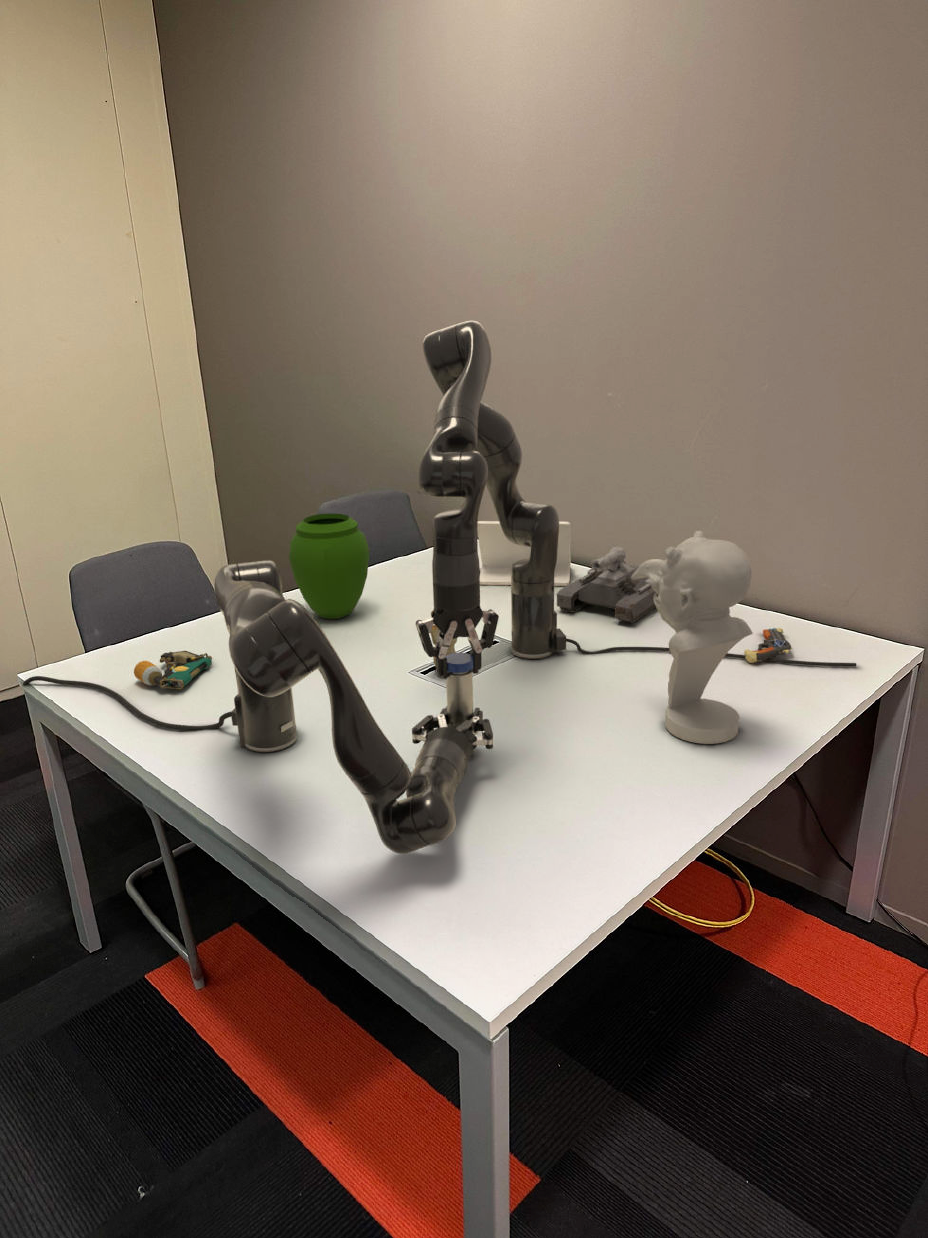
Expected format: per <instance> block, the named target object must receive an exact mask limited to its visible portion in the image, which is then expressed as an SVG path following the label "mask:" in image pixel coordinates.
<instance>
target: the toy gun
mask: <svg viewBox="0 0 928 1238" xmlns="http://www.w3.org/2000/svg"><path fill="white" fill-rule="evenodd" d="M762 634H763V642H761V643H759V644H758V648H757V650H750V649H745V650H744V651H743V655H745V656H746V659H745V660H746V661H747V662H748V663H750V664H751V663H756V662H761V661H760V660H764V659H767V658H775V657H776V656H780V655H782V654H785V653H786V654H789V653H790V651H791V650H793V649H794V648H793V647H792V645H791V643H790V642H789V641H788V640H787V639H786V638H785V636H784V629H783V628H781V627H779V628H778V627H777V628H776V627H773V628H768V629H767V628H766V629H763V630H762Z"/></svg>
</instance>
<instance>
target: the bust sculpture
mask: <svg viewBox="0 0 928 1238" xmlns="http://www.w3.org/2000/svg"><path fill="white" fill-rule="evenodd" d="M664 554H665V559H660V558H653V559H648V560H645V561H644V562H642V563H641V564H640V565H639V566H638V567H639V568H638V569H637V570H636V571H635V573H634V574H633V575H632V576H631V578H632V579H634V580H635V579H640V578H644V577H647V578H649V579H650V583H651V587H652V589H653V590H654V591H655V592H656V593H655V594H654V597H653V600H654V604H655V605H656V607H655V608H656V611H657V612H658V614H659V615H660V618H661V619H662V620H663V622H665V623H666V624H667V625H668V626H669V627H670V628H671V629H672V630H673V631H675V634H673V635H672V636H671V638H669V641H668V648H669V649H670V651H669V653H670V654H671V657H672V658H673V660H672V663H671V666H670V669H669V673H668V682H667V694H668V696H667V697H668V700H667V705H668V706H666V708H665V718H664V726H665V728H666V730H667V731H668V732H669V733H670V734H671V735H673V736H675V737H676V738H679V739H680V740H683V741H687V742H691V743H696V744H703V745H713V744H721V743H726V742H729V741H731V740H733V739H734V738H736V736H738V733H739V729H740V728H739V727H740V715H739V714H740V713H738V711H737V710H736V709H735V708H734V707H732V706H730V705H728V704H727V703H724V702H721V701H719V700H714V699H709V698H702V696H703V695H704V694H703V693H704V692H705V690H706V687H707V685H708V684H709V681H710V680H711V678H712V676H713V674H714V673H715V671H716V670H717V668H718V667H719V665H720V664H721V662H722V661H723V660H724V658H725V655H726V654H727V653H729V652H730V651H731V650H732V649H733V648H734V647H735V646H736V645H738V643H739V642H741V641H742V640H743V639H745V638H747V637H749V636H751V635H753V634H754V632H753V630H752V629H751V628H750V626H749V624H748V623H747V622H746V621H745V620H744V619H743V618H740V617H737V616H731V614H730V613H731V610H730V608H732V607H734V606H736V605H737V604H739V603H740V602H741V601H742V600H744V599H745V597H746V595H747V594H748V592H749V590H750V586H751V583H752V574H753V573H752V572H753V571H752V565H751V561H750V559H749V557H748V555H747V554H746V552H745V551H744V550H743V549H742V548H741V547H740V546H739V545H737V544H736V543H734V542H731V541H728V540H723V539H711V538H707V536H706V534H705V532H703V530H696V531H694V533H693V536H691V537H689V538H687V539H684V541H682V542H681V543H679V544H678V545H677V546H675V547H674V546H669V547H667V548H666V551H665V553H664Z"/></svg>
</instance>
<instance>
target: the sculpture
mask: <svg viewBox="0 0 928 1238" xmlns="http://www.w3.org/2000/svg"><path fill="white" fill-rule="evenodd" d="M433 611H434V609H433V610H431V612H430V617H431V616H432V614H433ZM438 632H439V629H438V628H437V627H436V625H435V624H434V625H433V626H432V631H431V633H429V635H430V636H431V637H430V638H431V642H432V644H433V646H434V647H435V646H436V643H437V635H438ZM457 642H458V638H456V639H452V641H451V644H450V646H449V647H448V650H447V653H446V656H447V655H449V654H452V653H457V652H456V649H455V644H456V643H457ZM432 658H433V659H432V660H433V665H434V667H435V668H436V657H432Z"/></svg>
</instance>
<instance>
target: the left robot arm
mask: <svg viewBox="0 0 928 1238" xmlns="http://www.w3.org/2000/svg"><path fill="white" fill-rule="evenodd" d="M283 592H284V591H283V581H282V575H281V571H280V568H279V566H278V564H277V563H276V562H275V561H274V560H272V559H263V560H253V561H246V562H237V563H229V564H225V565H224V566H221V567H220V568H219V569H218V570H217V572H216V575H215V578H214V595H215V600H216V604H217V606H218V609H219V611H220V612H221V614H222V615H223V617H224V622H225V626H226V629H227V632H228V634H229V637H228V651H229V656H230V659H231V661H232V662H231V663H232V664H233V666H234V673H235V674H234V675H235V681H236V687H237V694H236V695H235V696H234V698H233V703H234V708H233V709H232V710H231V711H228V712H225V713H223V714H222V715H220V716H219V718H218V722H217V723H213V724H208V725H187V724H176V723H169V722H164V721H161V720H158V719H155V718H153V717H152V716H149V715H147V714H145V713H143V712H142V711H141V710H139V709H138V708H137V707H136V706H135V705H133V704H132V703H130V702H129V701H128V700H127V699H126V698H125V697H124V696H122V695H121V694H119V693H118V692H116V691H114V690H113V689H111V688H108V687H106V686H104V685H101V684H98V683H93V682H89V681H80V680H69V679H68V680H67V679H58V678H54V677H50V676H42V675H35V676H31V677H28V678H26V679H25V680H24V681H23V683H22V686H28V685H29V684H30V683H32V682H37V681H39V682H47V683H52V684H56V685H63V686H75V687H86V688H92V689H95V690H98V691H102V692H104V693H106V694H108V695H110V696H112V697H113V698H115V699H116V700H118V701H119V702H120V703H121V704H122V705H124V706H125V707H126V708H127V709H128V710H130V711H131V712H132V713H133V714H134V715H136V716H137V717H139V718H140V719H142V720H144V721H146V722H148V723H150V724H152V725H155V726H158V727H161V728H164V729H169V730H177V731H188V732H190V731H191V732H196V731H198V732H199V731H208V730H209V731H210V730H217V729H220V728H221V727H223V725H225V720H226V719H229V718H231V724H232V726H233V727H237V733H238V739H239V746H240V747H243V748H244V747H245V748H246V749H247V750H249V751H251V752H256V753H273V752H277V751H282V750H284V749H287V748H289V747H291V746H292V745H293V744H295V742H296V741H297V740H298V731H297V723H296V714H295V713H296V712H295V705H294V697H293V687H294V686H295V685H297V684H298V683H300V682H301V681H303V680H304V679H305V678H307V677H308V676H310V675H312V673H314V672H315V671H317V670H318V671H319V673H320V675H321V676H322V679H323V680H324V682H325V686H326V689H327V692H328V697H329V703H330V705H329V706H330V715H331V738H332V740H331V741H332V747H333V751H334V755H335V757H336V761H337V763H338V765H339V766H340V768H341V769H342V771H343V772H344V774H345V775H346V776H347V778H348V779H349V780H350V781H351V782H352V784H353V785H354V787H355V788H356V789H357V790H358V791H359V793H360V795H362V796H363V798H364V800H365V802H366V804H367V807H368V808H369V812H370V814H371V817H372V819H373V822H374V825H375V827H376V830H377V833H378V836H379V838H380V840H381V842H382V844H383V845H384V846H385V847H386V848H387V849H388V850H389V851H392V852H393V853H396V854H399V855H406V854H410V853H413V852H415V851H418V850H420V849H424V848H426V847H430V846H433V845H435V844H438V843H441V842H443V841H445V840H446V839H447V838H449V837H450V836H451V835H452V833H453V832H454V830H455V828H456V825H457V824H456V823H457V818H456V811H455V798H454V797H455V794H456V791H457V788H458V786H459V784H460V783H461V782H462V779H463V777H464V775H465V774H466V772H467V767H468V764H469V761H470V759H471V757H470V756H471V752H472V750H474V751H475V749H477V747H478V746H485V749H487V750H493V749H494V732H493V729H492V725H491V721H490V719H488V718H484V711H483V710H481V708H480V707H475V708H474V709H473V715H472V718H471V719H470V720H466V721H465V722H464V723H463V724H462V725H460V726H454V725H448V713H447V706H445V707H443V708H442V709H441V710H440V712H439V714H437V715H436V716H435V717H434V715H431V714H429V715H426V716H425V717H423V719H422V720H420V721H419V722H418V723H416V725H414V726H413V727H412V728H411V740H412V741H411V742H412V744H413V745H416V744H417V745H418V744H420V743H421V742H424V743H423V744H422V747H421V749H420V751H419V753H418V755H417V758H416V760H415V764H414V767H413V769H412V772H411V769H410V768H409V766H408V764H407V763H406V762H405V760H404V759H403V758H402V756H401V755H400V753H399V752H398V751H397V750H396V748H395V747H394V745H393V744H392V742H391V741H390V740H389V739H388V738H387V736H386V735H385V733H384V731H383V730H382V728H381V727H380V726H379V724H378V723H377V721H376V719H375V718H374V716H373V715H372V712H371V711H370V709H369V707H368V706H367V704H366V702H365V700H364V697H363V696H362V694H361V692H360V691H359V689H358V686H357V685H356V683H355V682H354V680H353V678H352V676H351V675H350V673H349V671H348V670H347V668H346V667H345V665H344V663H343V661H342V659H341V658H340V656H339V654H338V653H337V651H336V650H335V647H334V646H333V645H332V643H331V641H330V640H329V638H328V636H327V634H326V632H324V630H323V628H321V626H320V625H319V623H318V622H317V621H316V619H315V618H314V617H313V616H312V614H311V613H310V612H309V610H307V609H306V608H305V607H304V606H303V605H302V604H301V603H300V602H299V601H297V600H294V599H291V598H288V599H286V598H285V596H284V594H283ZM480 732H481V734H480V735H479V736H478V737H477V735H478V733H480ZM404 794H405V796H406V797H405V798H403V799H401V800H398V799H399V798H400V797H401V796H403V795H404Z"/></svg>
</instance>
